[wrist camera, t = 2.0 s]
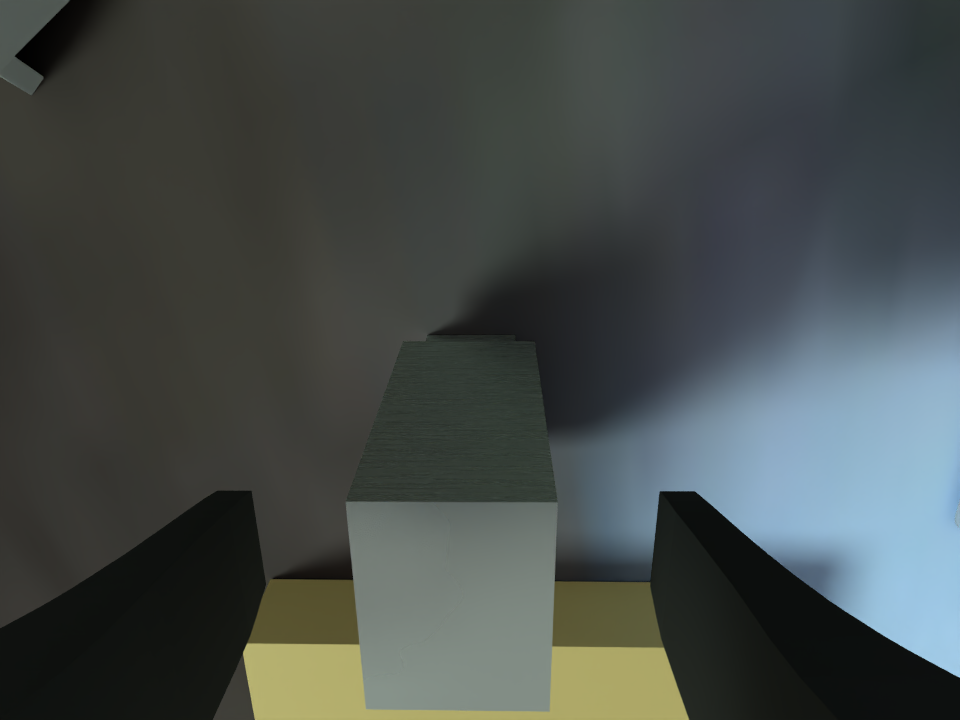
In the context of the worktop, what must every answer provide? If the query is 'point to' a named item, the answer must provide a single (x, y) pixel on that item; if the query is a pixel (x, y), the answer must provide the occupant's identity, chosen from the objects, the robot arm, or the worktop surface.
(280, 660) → the bracket plate
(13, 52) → the pale green rounded block
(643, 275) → the worktop surface
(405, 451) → the grey rectangular block
